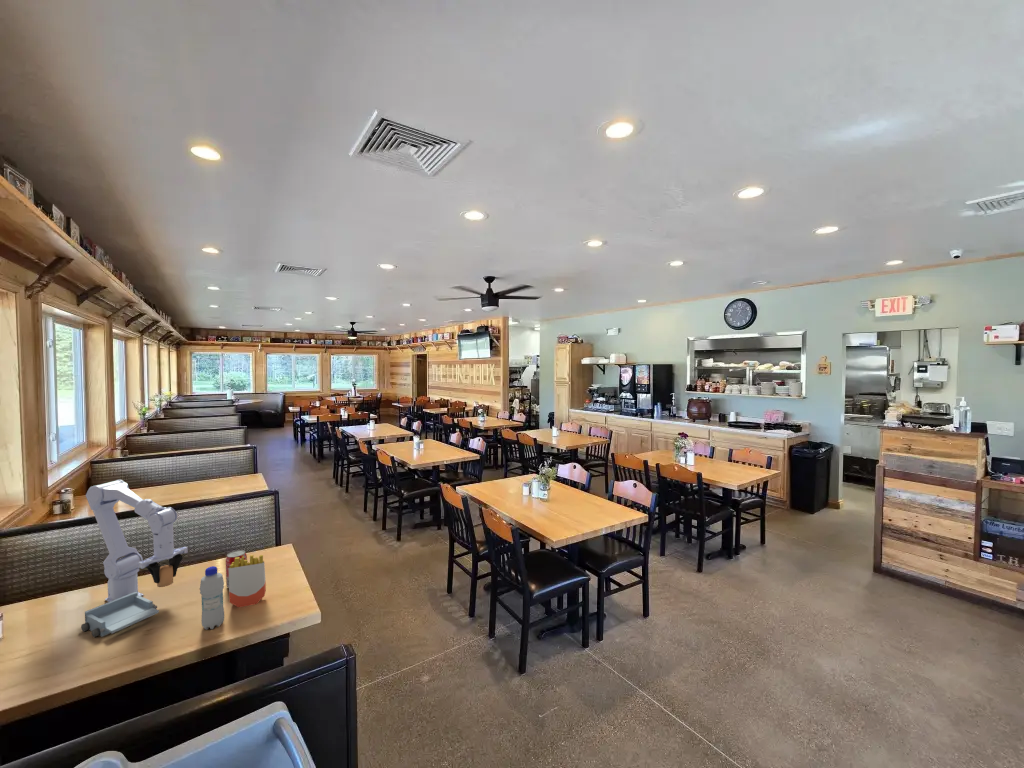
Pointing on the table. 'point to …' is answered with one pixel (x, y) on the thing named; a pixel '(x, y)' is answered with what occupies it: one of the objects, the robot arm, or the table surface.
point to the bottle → (212, 598)
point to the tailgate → (131, 620)
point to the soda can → (231, 559)
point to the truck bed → (114, 613)
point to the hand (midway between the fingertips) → (165, 579)
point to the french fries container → (247, 581)
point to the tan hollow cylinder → (165, 576)
